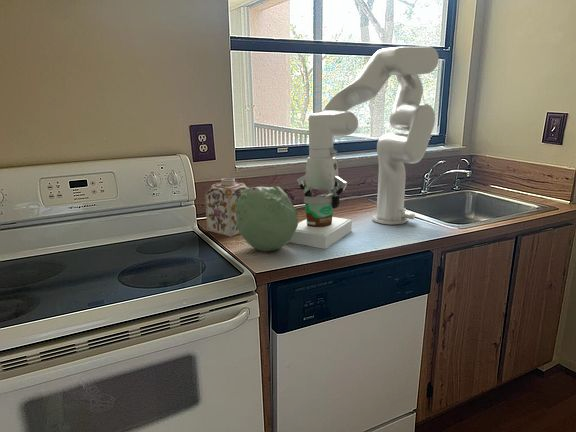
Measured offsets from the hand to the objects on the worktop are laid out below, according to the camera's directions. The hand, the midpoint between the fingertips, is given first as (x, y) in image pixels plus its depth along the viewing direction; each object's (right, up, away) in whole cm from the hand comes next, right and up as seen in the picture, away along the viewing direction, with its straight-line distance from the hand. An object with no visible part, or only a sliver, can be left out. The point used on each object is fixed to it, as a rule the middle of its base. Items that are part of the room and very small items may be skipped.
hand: (321, 205), depth 147 cm
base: (-1, -10, +3) cm, 10 cm away
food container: (+1, -6, 0) cm, 6 cm away
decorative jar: (-31, -8, +10) cm, 34 cm away
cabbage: (-17, -14, -9) cm, 24 cm away
